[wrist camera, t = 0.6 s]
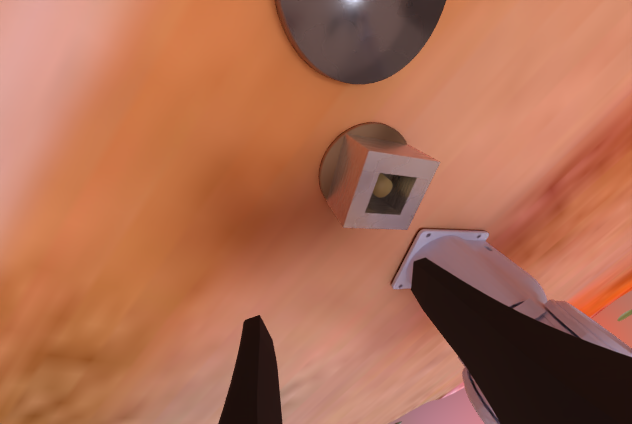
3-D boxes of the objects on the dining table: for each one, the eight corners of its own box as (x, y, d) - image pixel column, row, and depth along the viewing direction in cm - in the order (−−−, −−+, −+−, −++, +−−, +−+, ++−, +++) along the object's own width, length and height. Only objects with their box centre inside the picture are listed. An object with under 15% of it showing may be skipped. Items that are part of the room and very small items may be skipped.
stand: (420, 131, 19) (448, 143, 16) (386, 213, 22) (405, 233, 20) (333, 113, 16) (351, 124, 14) (309, 208, 20) (320, 230, 17)
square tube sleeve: (408, 144, 19) (440, 161, 16) (383, 205, 21) (407, 229, 18) (345, 133, 17) (369, 150, 14) (326, 201, 19) (343, 227, 16)
